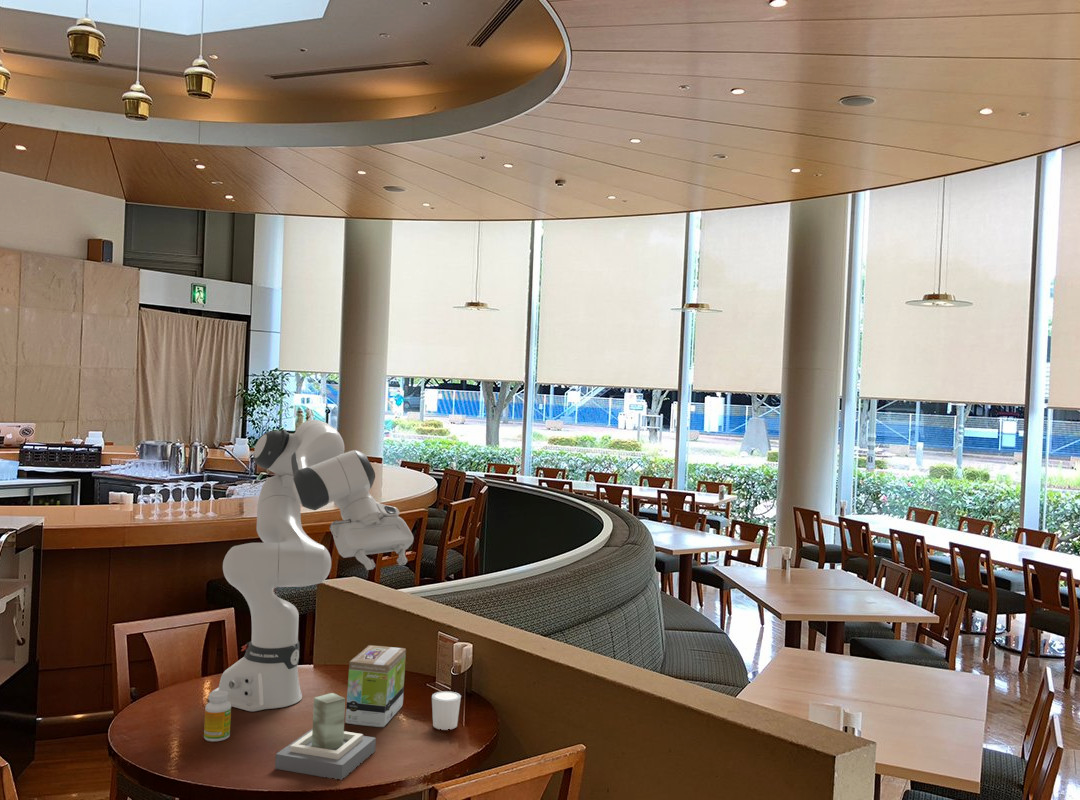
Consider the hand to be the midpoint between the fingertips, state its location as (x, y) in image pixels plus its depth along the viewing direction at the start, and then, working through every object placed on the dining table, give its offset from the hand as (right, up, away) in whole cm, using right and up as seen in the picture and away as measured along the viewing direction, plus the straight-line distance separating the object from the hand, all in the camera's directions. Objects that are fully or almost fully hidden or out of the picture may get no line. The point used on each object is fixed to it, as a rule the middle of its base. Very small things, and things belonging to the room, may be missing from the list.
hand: (387, 565), depth 201 cm
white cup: (+13, -38, +3) cm, 40 cm away
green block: (-9, -34, -19) cm, 40 cm away
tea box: (-4, -37, +7) cm, 38 cm away
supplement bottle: (-36, -36, -10) cm, 52 cm away
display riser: (-9, -37, -19) cm, 43 cm away
